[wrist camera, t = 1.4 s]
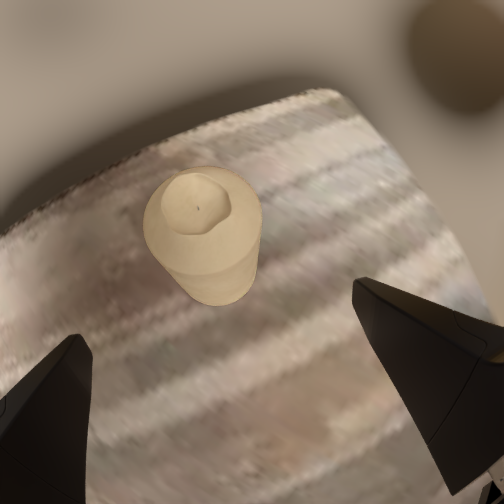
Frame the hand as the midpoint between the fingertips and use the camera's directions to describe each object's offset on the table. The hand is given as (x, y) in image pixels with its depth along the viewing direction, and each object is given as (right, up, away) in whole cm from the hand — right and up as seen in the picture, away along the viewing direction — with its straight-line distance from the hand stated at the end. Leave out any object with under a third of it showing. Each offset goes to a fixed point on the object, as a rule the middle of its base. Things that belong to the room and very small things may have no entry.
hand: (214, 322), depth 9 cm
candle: (-1, +1, +13) cm, 13 cm away
